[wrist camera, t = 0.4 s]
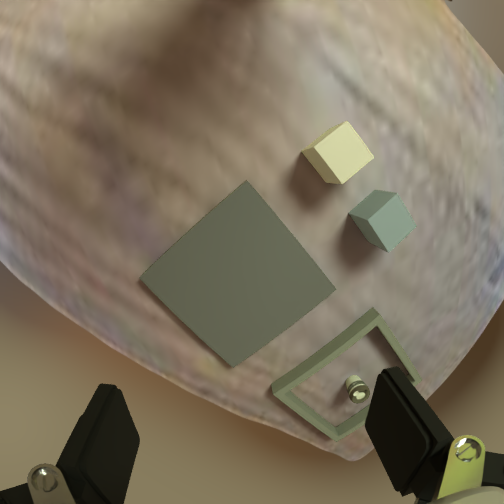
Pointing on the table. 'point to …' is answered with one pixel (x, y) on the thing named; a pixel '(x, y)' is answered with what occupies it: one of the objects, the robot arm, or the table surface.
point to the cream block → (338, 153)
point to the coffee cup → (357, 389)
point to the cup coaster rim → (325, 357)
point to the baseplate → (238, 277)
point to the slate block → (383, 219)
